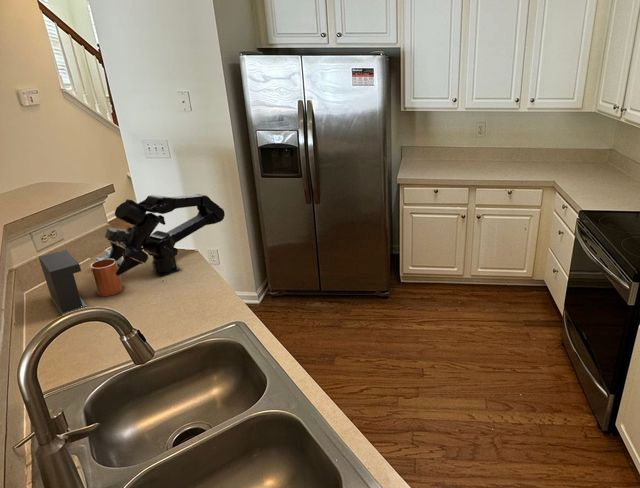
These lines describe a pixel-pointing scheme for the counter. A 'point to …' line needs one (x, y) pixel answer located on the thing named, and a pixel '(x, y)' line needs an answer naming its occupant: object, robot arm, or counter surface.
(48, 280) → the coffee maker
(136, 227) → the robot arm
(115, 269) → the cup
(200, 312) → the counter surface
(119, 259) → the figurine
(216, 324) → the counter surface
